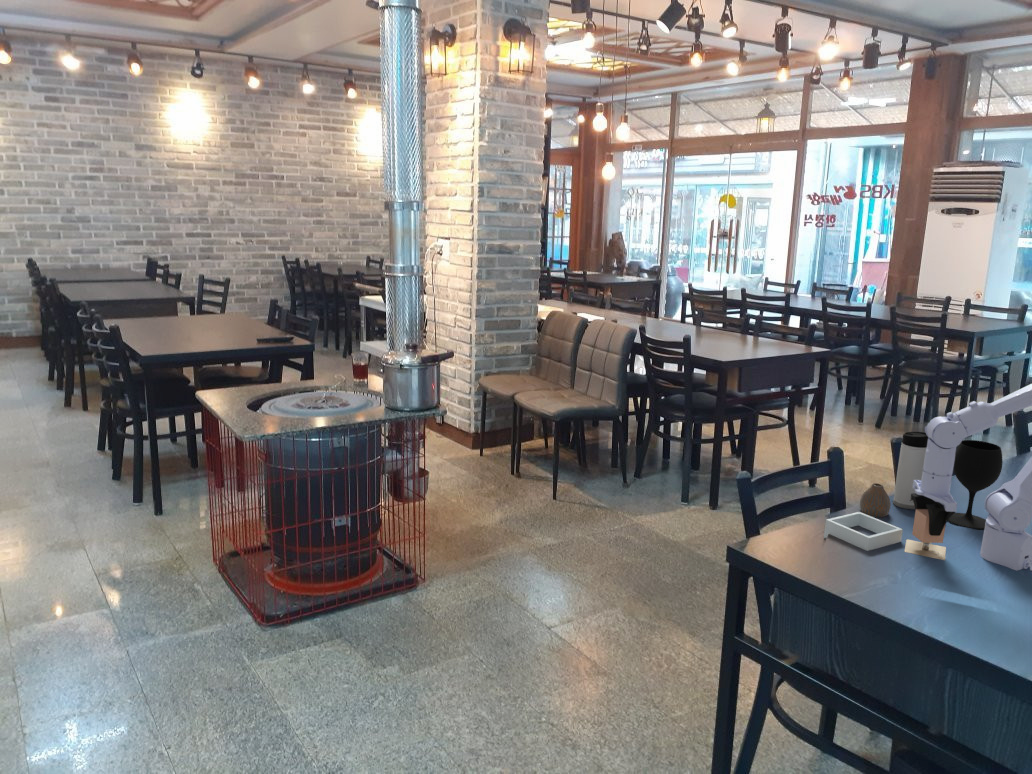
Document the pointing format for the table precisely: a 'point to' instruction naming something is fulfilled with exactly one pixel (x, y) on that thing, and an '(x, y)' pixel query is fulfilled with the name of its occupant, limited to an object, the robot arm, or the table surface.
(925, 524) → the block
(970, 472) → the wine glass
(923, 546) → the base
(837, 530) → the bin
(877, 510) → the vase
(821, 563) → the table surface
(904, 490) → the travel mug
